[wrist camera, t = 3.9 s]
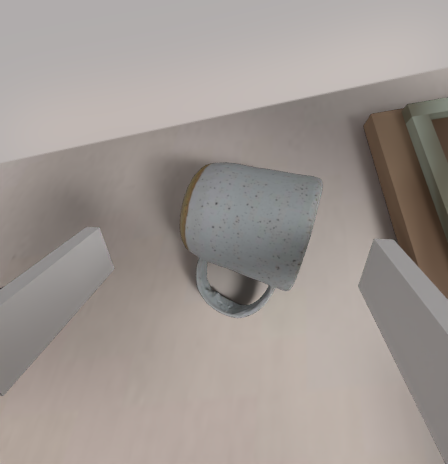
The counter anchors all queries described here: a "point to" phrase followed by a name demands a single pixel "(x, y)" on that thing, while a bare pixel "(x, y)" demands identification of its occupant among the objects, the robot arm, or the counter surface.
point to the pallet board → (415, 180)
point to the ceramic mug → (248, 227)
